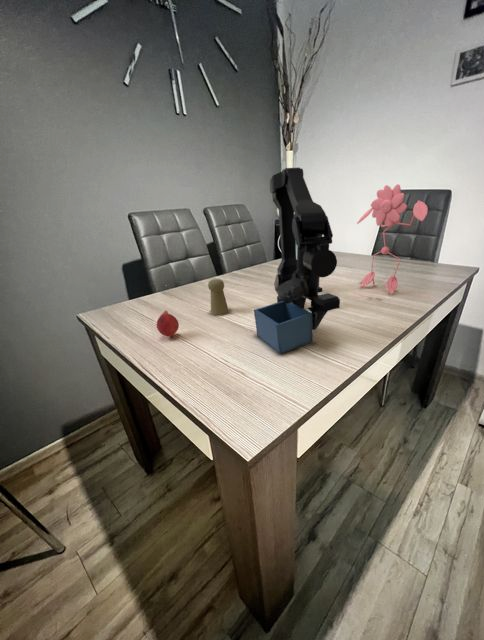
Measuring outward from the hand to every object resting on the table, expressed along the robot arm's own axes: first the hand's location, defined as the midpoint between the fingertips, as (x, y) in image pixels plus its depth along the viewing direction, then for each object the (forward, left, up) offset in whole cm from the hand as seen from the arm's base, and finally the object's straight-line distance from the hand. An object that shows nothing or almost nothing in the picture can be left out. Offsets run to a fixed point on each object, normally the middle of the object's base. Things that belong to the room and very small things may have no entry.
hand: (306, 325), depth 75 cm
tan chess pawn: (+14, -30, -3) cm, 33 cm away
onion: (+33, -20, -3) cm, 39 cm away
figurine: (-42, -14, -3) cm, 44 cm away
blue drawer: (+6, 0, -2) cm, 6 cm away
